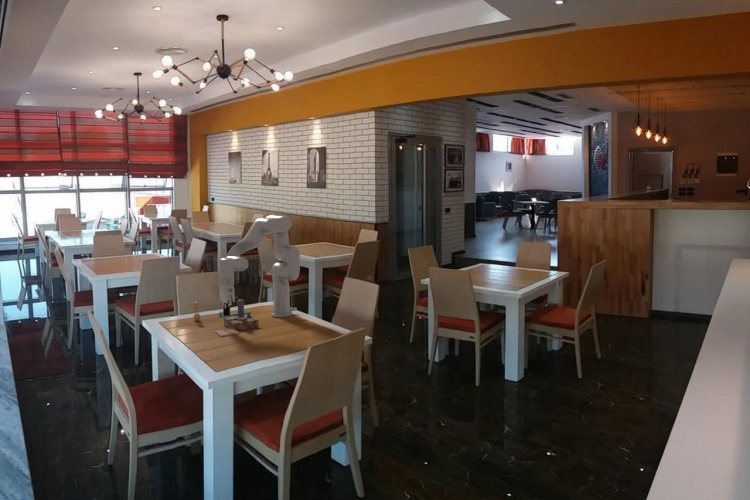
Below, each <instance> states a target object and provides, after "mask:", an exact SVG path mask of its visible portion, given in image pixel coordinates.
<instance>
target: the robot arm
mask: <svg viewBox="0 0 750 500" xmlns="http://www.w3.org/2000/svg"><path fill="white" fill-rule="evenodd" d="M292 225H293V223H292V219H291V218H290V217H288V216H287V215H278V214H277V215H276V214H275V215H274V214H273V215H272V214H271V215H267V216H266V217H265V218H263V217H259V218H257V219H255V220H254V221H253V222H252V224H251V226H250V228H249V229H248V231H247V233H246V234H245V236H244V237H243V238H242V239H241V240H240V241H238V242H236V243H235V244H234V245H233V246H232V247H230V249H229V250H228V252H227V253H226V255H225V256H224V257H222V258H220V259H219V263H218V264H219V265H218V266H219V269H218V270H219V276H218V277H219V279H218V281H219V300H220V302H221V303H222V309H223V310H222V315H224V316H229V315H230V314H231V306H232V305H233V304H234V303H235V302H236V296H235V295H236V294H235V286H234V285H235V272H244V271H245V270H247V269H248V267H249V261H248V259H247V258H246V257H242V256H241V255H243V254H244V253H245V252H247V251H250V250H253V249H256V248H257V247H258V245H259V244H260V243H261V241H262V239H263V238H264V236H265V234H266V235H273V256H274V258H275V259H276V260H278V262H276V263H274V264H272V266H271V270H270V271H271V277H272V292H273V293H272V297H273V301H272V307H273V310H272V311H273V312H271V313H270V316H271V317H272V318H279V319H280V318H288V317H289V318H290V317H291V316H293V312H296V311H297V310H298V308H297V307H293V306H290V283H289V281H296V280H297V279H298V278H299V276H300V271H301V270H300V269H301V267H300V266H301V264H300V263H301V253H300V250H299V248H298V247H297V246H296V245H292V244H290V239H289V238H290V237H289V233H288V231H289V230H290V229H291V227H292ZM279 261H280V262H279ZM281 261H283V262H281ZM232 303H233V304H232Z"/></svg>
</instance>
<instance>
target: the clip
mask: <svg viewBox="0 0 750 500" xmlns="http://www.w3.org/2000/svg"><path fill="white" fill-rule="evenodd" d="M247 314H252V311H251V310H247V311H244V315H247ZM235 316H238V312H234V313H230V315H229V316H224V315H223V311H218V318H219V319H222V318H223V319H224V318H228V317H235Z"/></svg>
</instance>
